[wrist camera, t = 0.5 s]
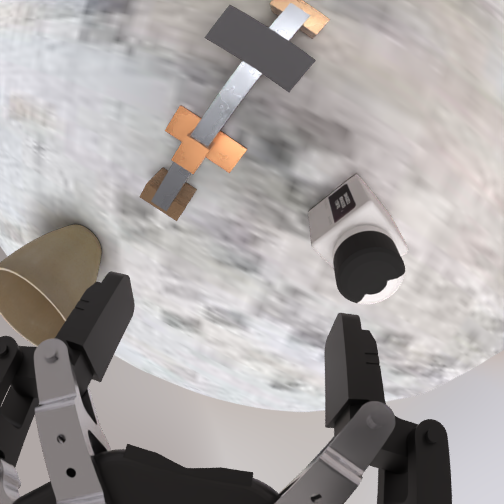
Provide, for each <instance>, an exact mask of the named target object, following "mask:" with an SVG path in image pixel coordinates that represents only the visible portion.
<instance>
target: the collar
mask: <svg viewBox="0 0 504 504" xmlns="http://www.w3.org/2000/svg"><path fill="white" fill-rule="evenodd" d="M205 38H206V39H207V40H209V41H211V42H213V43H214V44H216V45H218V46H219V47H221V48H223V49H224V50H226V51H228V52H229V53H231V54H233V55H234V56H236V57H237V58H239V59H241V60H242V61H244V62H245V63H247V64H248V65H250V66H251V67H253V68H254V69H256V70H258V71H259V72H260V73H262V74H263V75H265V76H266V77H268V78H269V79H271V80H272V81H274V82H275V83H276V84H278V85H279V86H281V87H282V88H284V89H285V90H286V91H288V92H290V90H291V89H292V88H293V87H294V86H295V84H296V83H297V82H298V81H299V80H300V78H301V77H302V76H303V75H304V74H305V72H306V71H307V70H308V69H309V68H310V67H311V65H312V64H313V63H314V62H315V61H316V60H315V59H313V58H312V57H311V56H309V55H308V54H307V53H305V52H304V51H302V50H301V49H300V48H298V47H297V46H295V45H294V44H293V43H291V42H290V41H288V40H287V39H285V38H284V37H282V36H281V35H279V34H278V33H276V32H275V31H273V30H272V29H270V28H268V27H267V26H265V25H264V24H262V23H260V22H259V21H257V20H256V19H254V18H252V17H251V16H249V15H247V14H245V13H244V12H242V11H240V10H239V9H237V8H235V7H233V6H231V5H229V6H228V8H227V9H226V10H225V11H224V13H223V14H222V15H221V17H220V18H219V19H218V20H217V22H216V23H215V24H214V26H213V27H212V28H211V30H210V31H209V33H208V34H207V35H206V37H205Z"/></svg>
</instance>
